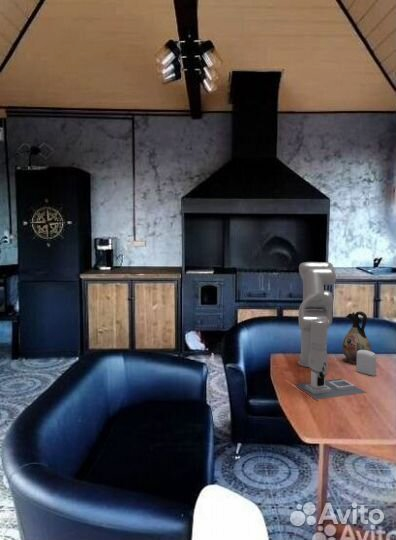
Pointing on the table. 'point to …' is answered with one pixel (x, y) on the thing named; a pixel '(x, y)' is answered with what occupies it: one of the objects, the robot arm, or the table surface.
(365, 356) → the photo printer
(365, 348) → the ceramic jug
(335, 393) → the dock board
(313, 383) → the plug
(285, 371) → the table surface
